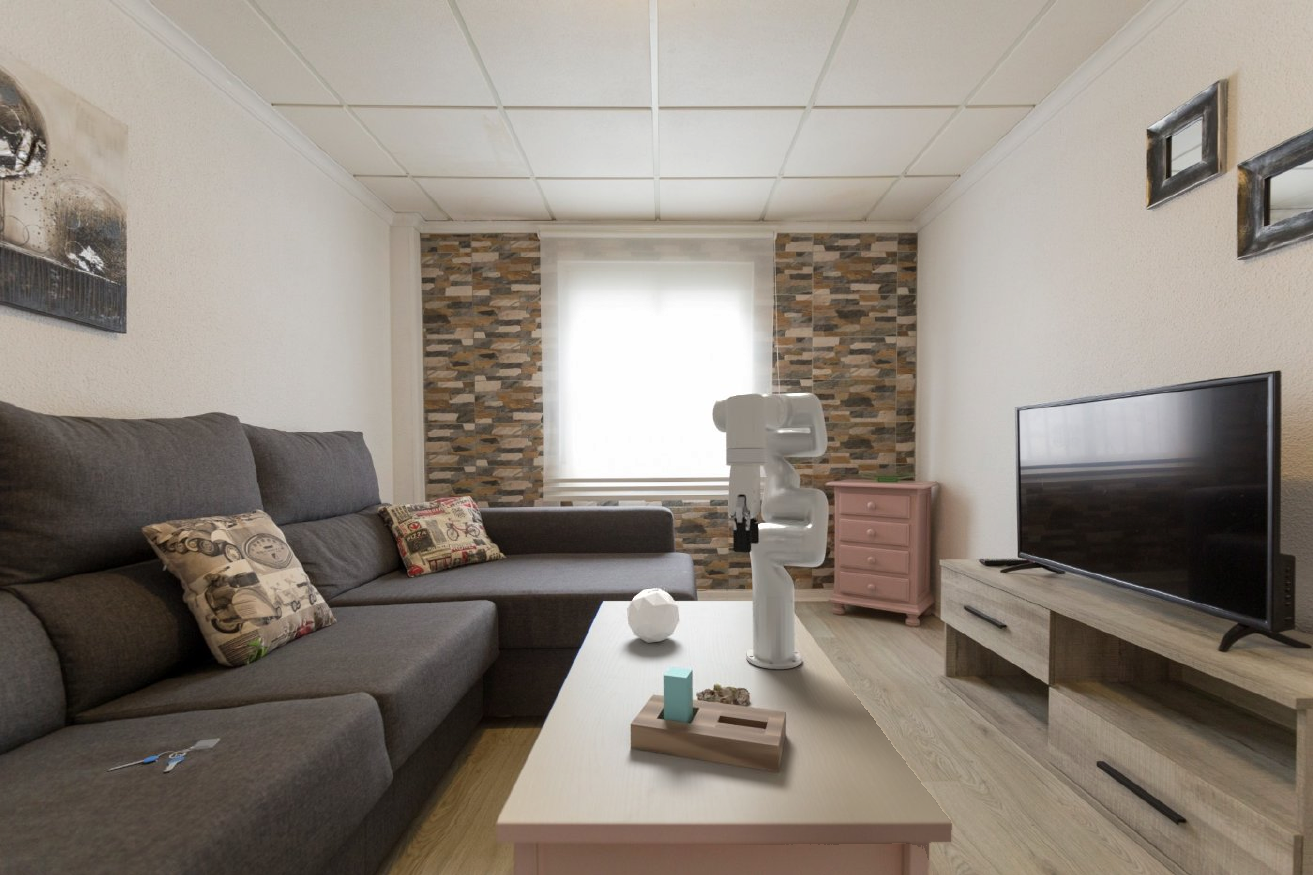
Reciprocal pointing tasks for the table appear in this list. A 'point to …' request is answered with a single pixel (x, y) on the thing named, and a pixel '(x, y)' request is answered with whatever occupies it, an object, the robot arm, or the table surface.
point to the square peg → (678, 695)
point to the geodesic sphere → (653, 615)
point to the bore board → (714, 734)
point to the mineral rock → (725, 695)
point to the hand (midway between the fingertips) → (746, 547)
